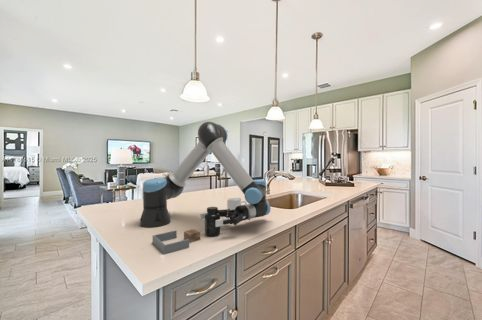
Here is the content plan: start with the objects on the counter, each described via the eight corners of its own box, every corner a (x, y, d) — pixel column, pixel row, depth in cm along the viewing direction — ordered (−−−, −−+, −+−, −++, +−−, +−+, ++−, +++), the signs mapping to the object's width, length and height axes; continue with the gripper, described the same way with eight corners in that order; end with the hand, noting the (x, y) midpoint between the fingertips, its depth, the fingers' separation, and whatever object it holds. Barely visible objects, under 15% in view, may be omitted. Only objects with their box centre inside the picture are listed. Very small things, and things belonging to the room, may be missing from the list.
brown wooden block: (194, 236, 97) (194, 228, 96) (200, 240, 93) (200, 231, 93) (184, 239, 93) (183, 231, 93) (189, 243, 89) (189, 234, 89)
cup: (226, 214, 133) (226, 197, 133) (245, 213, 136) (245, 196, 136) (228, 218, 125) (228, 200, 125) (248, 216, 128) (248, 199, 128)
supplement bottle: (212, 230, 104) (212, 205, 104) (223, 233, 100) (223, 207, 99) (201, 234, 99) (201, 208, 99) (212, 238, 94) (212, 210, 94)
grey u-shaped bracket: (175, 237, 96) (175, 230, 96) (189, 247, 85) (189, 239, 85) (152, 242, 90) (152, 235, 90) (163, 254, 79) (163, 246, 79)
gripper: (262, 225, 101) (223, 236, 88) (230, 214, 120) (195, 222, 107) (261, 209, 101) (223, 217, 88) (230, 201, 120) (195, 206, 107)
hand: (207, 220), depth 97 cm, fingers open, 13 cm apart
